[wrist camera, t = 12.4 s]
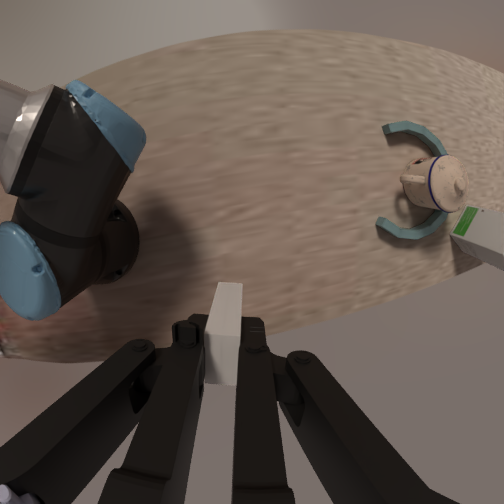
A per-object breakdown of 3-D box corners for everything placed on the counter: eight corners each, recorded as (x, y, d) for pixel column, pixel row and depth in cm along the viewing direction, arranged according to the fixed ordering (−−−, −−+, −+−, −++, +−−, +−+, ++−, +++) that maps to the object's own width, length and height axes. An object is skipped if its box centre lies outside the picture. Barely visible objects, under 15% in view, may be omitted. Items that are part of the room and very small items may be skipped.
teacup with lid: (438, 161, 41) (479, 158, 29) (437, 209, 43) (478, 217, 31) (386, 152, 40) (425, 144, 29) (386, 205, 43) (425, 212, 31)
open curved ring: (374, 233, 44) (380, 235, 41) (381, 118, 39) (388, 115, 37) (440, 240, 44) (447, 243, 42) (447, 139, 40) (455, 138, 37)
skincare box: (466, 203, 42) (521, 213, 27) (479, 223, 43) (531, 237, 28) (448, 235, 44) (503, 254, 29) (462, 254, 45) (513, 276, 30)
